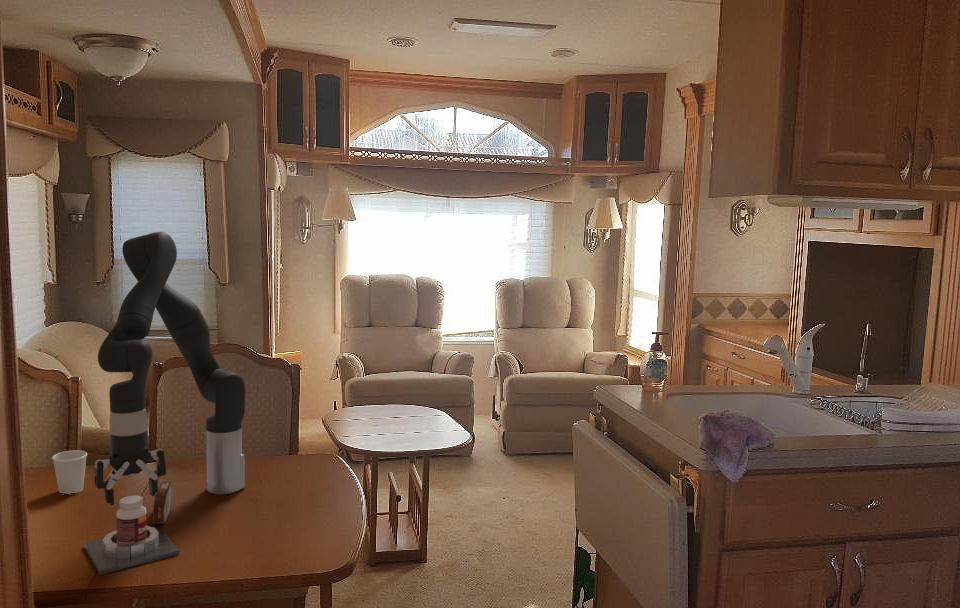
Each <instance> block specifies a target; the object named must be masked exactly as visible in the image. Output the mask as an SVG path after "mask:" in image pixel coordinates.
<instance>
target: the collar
mask: <svg viewBox="0 0 960 608" xmlns="http://www.w3.org/2000/svg"><path fill="white" fill-rule="evenodd" d="M83 545H84V546H83V547H84V549H85V551H86V553H87V555H88V556H89V558H90V560H91V562H92V563H93V565H94V566H95V569H96V568H97V569H96V571H97V570H98V571H97V573H98V575H99V576H102V575H106V574H110V572H111V573H113V571H115V572H118V571H121V569H122V570H125V569H124V568H126V569H129V568H128V567H130V568H132V567H131V566H134V567H136V566H135V565H138V566H141V565H145V564H149V563H152V562H156V561H160V560H164V559H167V558H171V557H175V556H179V555H180V549H178V547H177V546H176V545H175V543H174V542H173V541H172V540H171V539H170V538H169V537H168V535H167V534H166V533H165V531H164V530H163V529H162V528H161V527H160V526H159V525H157V526H156V525H155V526H149V525H147V538H146V539H144V540H142V541H140V542H136V543H132V544H117V529H115V530H113V531H110V532H109V533H107V534H106V535H105V536H104V537H103V538H99V539H95V540H91V541H87V542H83ZM140 564H141V565H140ZM117 570H118V571H117Z"/></svg>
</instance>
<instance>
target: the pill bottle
mask: <svg viewBox="0 0 960 608" xmlns="http://www.w3.org/2000/svg"><path fill="white" fill-rule="evenodd" d="M143 501H144V500H143V496H141V495H129V496H125V497H124V496H123V497H122V498H120V500H119V509H118V510H117V511H116V514H115V515H116V516H115V519H116V520H115V521H116V522H115V523H116V525H115V527H116V530H117V544H132V543H136V542H140V541H142V540H144V539H146V538H147V526H148V525H147V524H148V523H147V522H148V520H147V508H146V506H144V505H143V504H144V503H143Z"/></svg>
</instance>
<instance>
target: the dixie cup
mask: <svg viewBox="0 0 960 608" xmlns="http://www.w3.org/2000/svg"><path fill="white" fill-rule="evenodd" d="M87 456H88V453H87V452H86V451H84V450H81V449H80V450H77V449H76V450H67V451H62V452H61V451H60V452H59V453H56V454H54V455H52V457H51V460H52V462H53V465H54V467H53V468H54V471H55V477H56V482H57V489H58V492H60V493H66V494H69V495H71V494H70V493H75V494H77V493H78V494H79V493H81V492H82V491H83V490H84V483H85V476H86V475H85V474H86V473H85V472H86V463H87ZM60 493H59V494H60Z"/></svg>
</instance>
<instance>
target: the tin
mask: <svg viewBox="0 0 960 608" xmlns="http://www.w3.org/2000/svg"><path fill="white" fill-rule="evenodd" d="M172 487H173V481H172V480H169V479H160V481H159V484H158V491H157V493H155V496H154V500H153V510H152V524H153V525H163V524H166V522H167V519H168V517H169V514H170V510H171V504H172Z"/></svg>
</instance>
